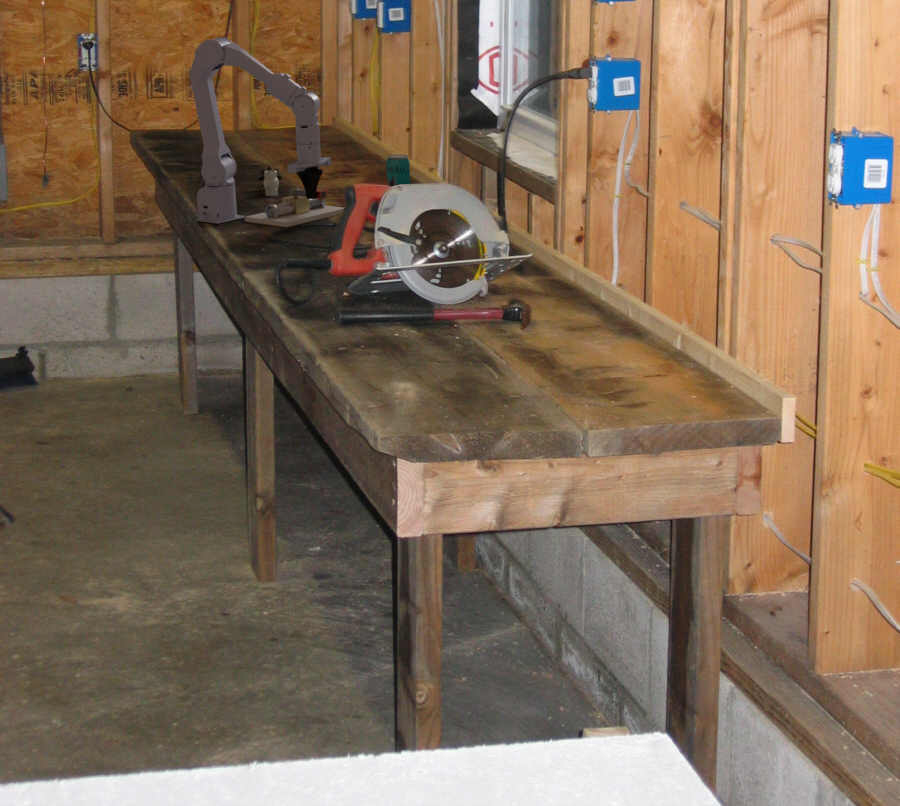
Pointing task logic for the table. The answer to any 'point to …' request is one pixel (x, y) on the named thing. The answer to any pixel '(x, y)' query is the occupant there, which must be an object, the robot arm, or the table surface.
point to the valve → (270, 181)
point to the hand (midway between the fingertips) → (311, 198)
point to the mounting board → (295, 217)
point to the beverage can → (398, 170)
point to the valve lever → (301, 192)
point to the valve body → (293, 206)
